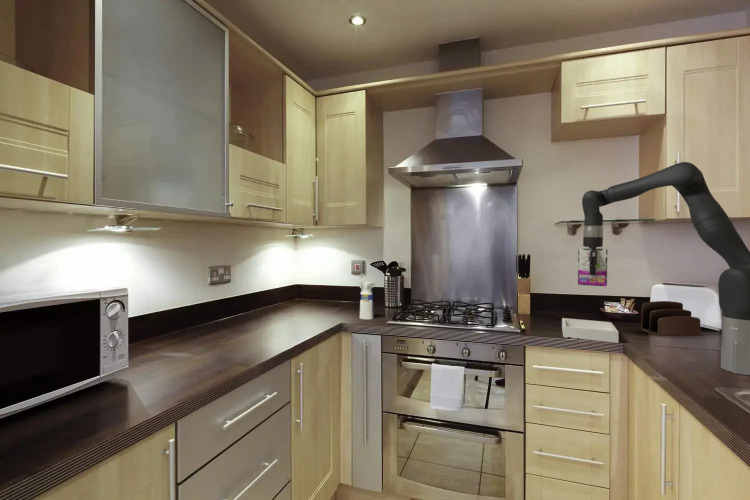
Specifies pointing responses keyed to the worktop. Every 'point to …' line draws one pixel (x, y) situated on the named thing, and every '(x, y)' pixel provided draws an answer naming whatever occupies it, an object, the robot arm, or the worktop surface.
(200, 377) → the worktop surface
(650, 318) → the letter holder
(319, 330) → the worktop surface
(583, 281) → the candy bar box
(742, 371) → the robot arm
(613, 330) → the tray
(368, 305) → the white spray bottle
